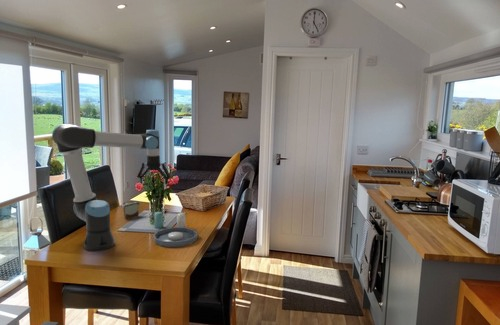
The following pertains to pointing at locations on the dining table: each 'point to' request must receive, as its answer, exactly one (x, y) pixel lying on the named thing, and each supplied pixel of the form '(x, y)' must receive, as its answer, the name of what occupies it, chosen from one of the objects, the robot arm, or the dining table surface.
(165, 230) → the groove tray
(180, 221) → the cream bead
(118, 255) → the dining table surface
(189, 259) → the dining table surface
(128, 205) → the food container
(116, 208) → the dining table surface
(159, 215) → the teal green block
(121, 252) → the dining table surface
